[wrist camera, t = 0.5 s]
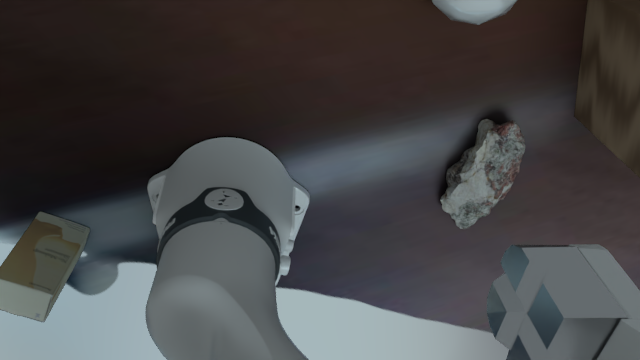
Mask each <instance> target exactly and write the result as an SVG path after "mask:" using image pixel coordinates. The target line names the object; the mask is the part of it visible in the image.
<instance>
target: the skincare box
mask: <svg viewBox="0 0 640 360" xmlns="http://www.w3.org/2000/svg"><path fill="white" fill-rule="evenodd" d="M89 231H90V228H88V227H85V226H82V225H80V224H77V223H74V222H71V221H68V220H65V219H62V218H59V217H56V216H53V215H50V214H47V213H44V212H39V213H38V214H37V216H36V217H35V219H34V220H33V222H32V223H31V224H30V226H29V227H28V229H27V230H26V231H25V233H24V234H23V235H22V237H21V238H20V240H19V241H18V243H17V244H16V245H15V247H14V248H13V250H12V251H11V252H10V254H9V255H8V257H7V258H6V259H5V261H4V262H3V264H2V265H1V266H0V310H2V311H6V312H9V313H11V314H14V315H18V316H23V317H27V318H30V319H34V320H37V321H40V322H45V320H46V318H47V316H48V315H49V313H50V311H51V309H52V307H53V305H54V303H55V302H56V300H57V298H58V296H59V294H60V292H61V291H62V289H63V287H64V285H65V283H66V282H67V280H68V278H69V276H70V274H71V272H72V270H73V269H74V267H75V265H76V263H77V261H78V259H79V258H80V256H81V254H82V252H83V249H84V247H85V244H86V241H87V238H88V235H89Z"/></svg>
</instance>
